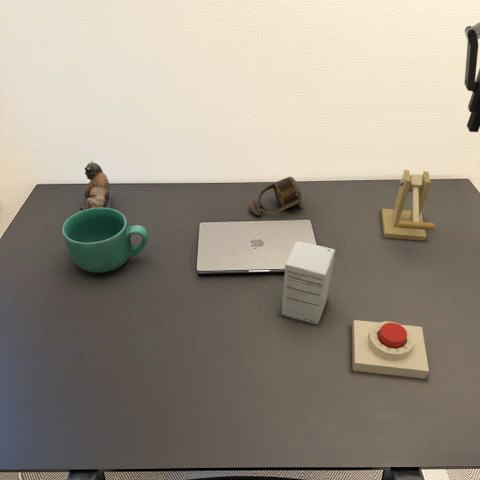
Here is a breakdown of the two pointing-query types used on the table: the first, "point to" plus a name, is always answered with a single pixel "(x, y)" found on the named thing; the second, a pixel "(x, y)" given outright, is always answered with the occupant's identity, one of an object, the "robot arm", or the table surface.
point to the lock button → (392, 335)
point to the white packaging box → (307, 281)
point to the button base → (388, 351)
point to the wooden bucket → (279, 196)
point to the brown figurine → (96, 188)
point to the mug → (101, 239)
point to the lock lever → (415, 207)
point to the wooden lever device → (405, 211)
